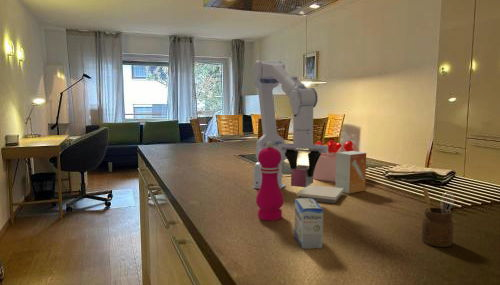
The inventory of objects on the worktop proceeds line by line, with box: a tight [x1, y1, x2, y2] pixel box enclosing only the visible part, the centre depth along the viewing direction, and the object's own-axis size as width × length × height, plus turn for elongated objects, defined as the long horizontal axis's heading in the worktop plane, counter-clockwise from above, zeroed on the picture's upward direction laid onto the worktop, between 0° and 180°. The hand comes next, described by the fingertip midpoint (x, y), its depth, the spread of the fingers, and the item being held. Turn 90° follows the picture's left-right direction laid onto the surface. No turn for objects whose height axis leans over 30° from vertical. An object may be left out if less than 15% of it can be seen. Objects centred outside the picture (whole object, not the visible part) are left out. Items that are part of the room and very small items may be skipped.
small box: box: [335, 151, 367, 194], centre depth 121 cm, size 8×6×13 cm
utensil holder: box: [421, 186, 454, 248], centre depth 76 cm, size 6×6×12 cm
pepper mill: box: [255, 142, 285, 222], centre depth 94 cm, size 7×7×20 cm
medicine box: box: [293, 198, 324, 250], centre depth 77 cm, size 8×4×9 cm, turn 5°
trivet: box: [296, 184, 344, 204], centre depth 114 cm, size 12×12×2 cm
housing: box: [290, 164, 314, 188], centre depth 106 cm, size 4×7×6 cm, turn 153°
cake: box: [313, 139, 360, 183], centre depth 143 cm, size 20×20×14 cm
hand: (302, 175), depth 106 cm, fingers closed on housing, 4 cm apart
